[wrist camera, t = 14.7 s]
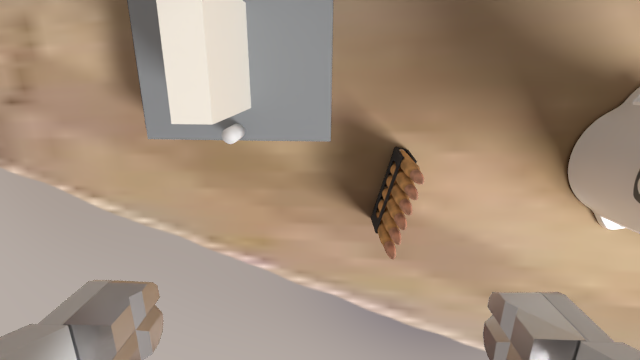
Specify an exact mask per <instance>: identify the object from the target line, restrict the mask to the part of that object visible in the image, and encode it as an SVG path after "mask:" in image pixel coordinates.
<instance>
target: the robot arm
mask: <svg viewBox="0 0 640 360" xmlns="http://www.w3.org/2000/svg"><path fill="white" fill-rule="evenodd" d="M568 178H569V183H570V186H571V189H572V191H573V193H574V194H575V196H576V197H577V198H578V199H579V200H580V201H581V202H582V203H583V204H584V205H586V206H587V207H589V208H590V209H591V210H592V211H593V212H594V214H595V217H596V219H597V221H598V223H599V224H600V225H601V226H602V227H604V228H607V229H609V230H615V229H622V228H627V229H630V230H632V231H634V232H637V233H639V234H640V87H639V88H638V89H636V90H635V91H634V92H633V93H632V94H631V95H630V96H629V97H628V98H627V99H626V101H625V102H624V103H623V104H622V105H620V106H619V107H617V108H616V109H614V110H612V111H610V112H608V113H606V114H605V115H603V116H602V117H600V118H599V119H597V120H596V121H595V122H594V123H592V124H591V125H590V126H589V127H588V128H587V129H586V130H585V132H584V133H583V134H582V135H581V137H580V138H579V140H578V141H577V143H576V144H575V146H574V148H573V151H572V153H571V156H570V160H569V166H568ZM159 298H160V296H159V291H158V286H157V285H156V284H154V283H153V282H135V281H111V280H93V281H88V282H87V283H86V284H85V285H83V286H82V287H81V288H80V289H79V290H77V291H76V292H75V293H74V294H73V295H71V296H70V297H69V298H68V299H67V300H66V301H64V302H63V303H62V304H61V305H60V306H58V307H57V308H56V309H55V310H54V311H52V312H51V313H50V314H49V315H48V316H47V317H45V318H44V319H43V320H42V321H41V322H39V323H38V324H29V325H27V326H25V327H22V328H20V329H18V330H16V331H13V332H11V333H8V334H6V335H4V336H1V337H0V360H144V359H145V358H147V357H148V356H150V355H151V354H153V352H154V351H155V349H156V348H157V346H158V344H159V342H160V339H161V335H162V332H163V315H162V312H161V311H160V310H159V309H158V308H157V307H156V306H155V304H156V302H157V301H158V299H159ZM488 308H489V310H490V311H491V313H492V314H493V315H492V316H491V317H490V318H489V319H488V320H486V321H485V323H484V331H483V339H484V347H485V350H486V353H487V356H488V358H489V360H640V351H639V350H637V349H635V348H633V347H631V346H629V345H627V344H625V343H619V342H614V341H613V340H612V339H611V338H610V337H609V336H608V335H607V334H606V333H605V332H604V331H603V330H602V329H601V328H599V327H598V326H597V325H596V324H595V323H594V322H593V321H592V320H591V319H590V318H589V317H588V316H587V315H586V314H585V313H584V312H583V311H582V310H580V309H579V308H578V307H577V306H576V305H575V304H574V303H573V302H572V301H571V300H570V299H569V298H568V297H567V296H566V295H564V294H562V293H559V292H536V293H531V292H492V294H491V296H490V297H489V302H488Z"/></svg>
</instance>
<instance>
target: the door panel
mask: <svg viewBox="0 0 640 360" xmlns="http://www.w3.org/2000/svg"><path fill="white" fill-rule="evenodd" d="M156 3H157V11H158V20H159V28H160V36H161V44H162V52H163V60H164V68H165V76H166V84H167V92H168V100H169V108H170V116H171V124H207V125H213V124H215V123H217V122H220V121H222V120H225V119H227V118H229V117H232V116H234V115H236V114H239V113H241V112H243V111H246V110H248V109H250V108H251V95H250V76H249V57H248V38H247V19H246V3H245V2H244V1H243V0H156Z"/></svg>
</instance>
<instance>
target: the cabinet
mask: <svg viewBox="0 0 640 360" xmlns="http://www.w3.org/2000/svg"><path fill="white" fill-rule="evenodd" d="M243 1H244V2H245V3H246V19H247V38H248V57H249V76H250V95H251V108H250V109H248V110H246V111H243V112H241V113H239V114H236V115H234V116H232V117H229V118H227V119H225V120H222V121H220V122H217V123H215V124H213V125H207V124H171V116H170V108H169V100H168V92H167V84H166V76H165V68H164V60H163V52H162V44H161V36H160V28H159V20H158V11H157V3H156V0H127V2H128V9H129V16H130V22H131V29H132V36H133V43H134V49H135V56H136V63H137V70H138V77H139V83H140V90H141V97H142V104H143V110H144V117H145V124H146V128H147V135H148V139H185V140H224V141H225V142H226V143H228V144H233V143H235V142H236V141H238V140H258V141H330V142H331V103H332V43H333V0H243Z"/></svg>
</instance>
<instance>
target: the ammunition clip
mask: <svg viewBox="0 0 640 360" xmlns="http://www.w3.org/2000/svg"><path fill="white" fill-rule="evenodd" d="M416 162H417V161H416V160H415V158H414V157H413V156H412V154H411V153H410V152H409V150H406V149H403V148H399V147H395V148H394V151H393V154H392V157H391V160H390V163H389V166H388V169H387V172H386V175H385V178H384V181H383V183H382V186H381V189H380V192H379V195H378V198H377V201H376V204H375V207H374V210H373V213H372V216H371V220H372V223H373V226H374V229H375V233H378V234H379V238H380V241H381V243H382V244H383V246H384V248H385V251H386V253H387V255H388V256H389V257H390V258H391V259H395V257H396V248H395V244H397V245H400V244H401V234H400V230H399V228H400V229H402V230H406V228H407V221H406V218H405V215H404V213H405V214H407V215H411V214H412V205H411V203H410V201H409V198H411V199H413V200H417V199H418V192H417V189H416V188H415V185H414V182H415V183H417V184H423V183H424V177H423V175H422V173H421V171H420V169H419V167H418V165H417V164H416ZM413 181H414V182H413ZM394 243H395V244H394Z"/></svg>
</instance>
